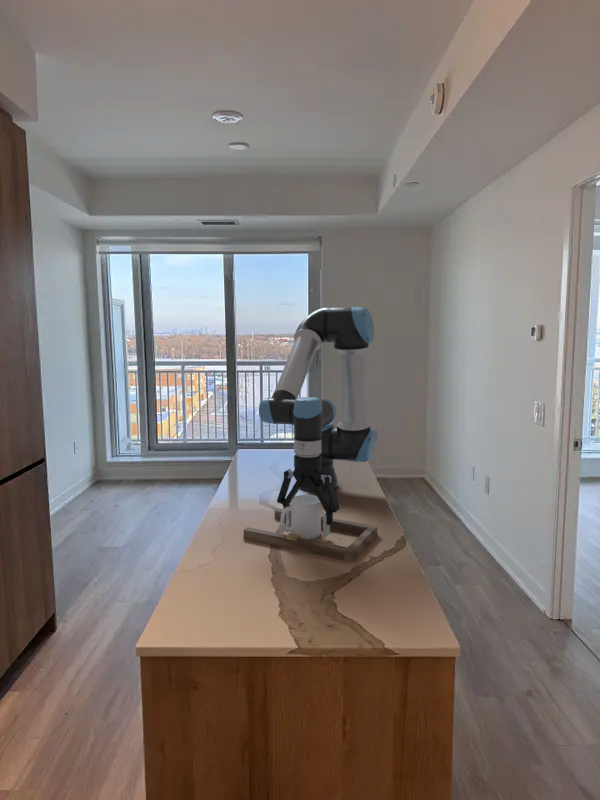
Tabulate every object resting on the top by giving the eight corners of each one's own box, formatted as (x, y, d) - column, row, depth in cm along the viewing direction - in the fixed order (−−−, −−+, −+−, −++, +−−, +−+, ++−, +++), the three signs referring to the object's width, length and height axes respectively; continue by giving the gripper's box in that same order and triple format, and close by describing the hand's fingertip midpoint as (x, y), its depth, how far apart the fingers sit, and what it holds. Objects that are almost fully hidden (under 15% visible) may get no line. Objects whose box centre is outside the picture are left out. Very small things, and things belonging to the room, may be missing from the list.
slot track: (282, 513, 164) (282, 503, 163) (380, 531, 149) (381, 519, 149) (243, 538, 144) (243, 527, 144) (351, 561, 129) (351, 549, 129)
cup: (326, 536, 145) (326, 501, 144) (287, 544, 140) (287, 508, 139) (312, 526, 153) (312, 493, 151) (274, 534, 147) (274, 499, 146)
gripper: (264, 452, 145) (264, 528, 148) (341, 462, 134) (340, 544, 137) (277, 447, 151) (277, 520, 154) (352, 456, 141) (351, 534, 144)
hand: (307, 531), depth 146 cm, fingers open, 11 cm apart
